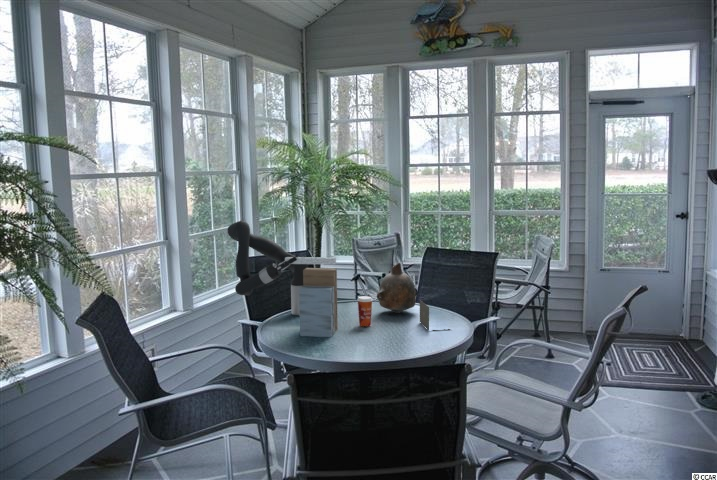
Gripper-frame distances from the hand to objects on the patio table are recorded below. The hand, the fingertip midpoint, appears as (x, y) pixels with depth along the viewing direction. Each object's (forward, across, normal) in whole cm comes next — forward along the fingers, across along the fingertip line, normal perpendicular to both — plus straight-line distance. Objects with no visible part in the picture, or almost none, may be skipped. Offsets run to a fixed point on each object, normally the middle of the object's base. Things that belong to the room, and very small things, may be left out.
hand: (297, 257), depth 293 cm
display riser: (-9, -4, +39) cm, 40 cm away
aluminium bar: (+5, 0, +6) cm, 8 cm away
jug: (+21, +42, +57) cm, 74 cm away
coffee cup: (+9, +13, +50) cm, 52 cm away
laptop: (+41, +16, +69) cm, 82 cm away
